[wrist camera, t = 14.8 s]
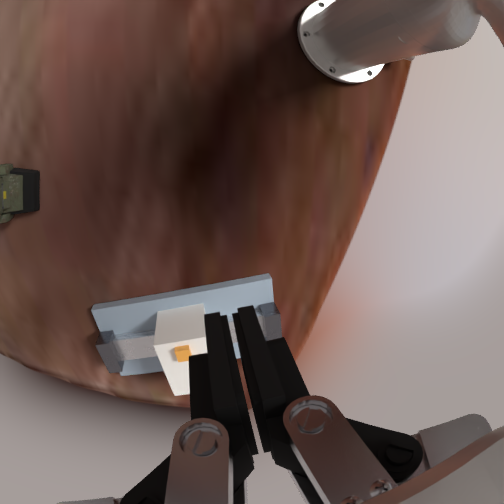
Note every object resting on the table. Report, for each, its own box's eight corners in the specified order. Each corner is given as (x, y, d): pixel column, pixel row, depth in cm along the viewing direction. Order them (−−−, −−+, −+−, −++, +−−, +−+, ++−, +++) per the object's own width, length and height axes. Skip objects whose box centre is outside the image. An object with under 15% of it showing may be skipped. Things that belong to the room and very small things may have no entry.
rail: (273, 301, 39) (280, 313, 36) (276, 331, 41) (282, 344, 38) (100, 331, 35) (95, 345, 33) (112, 359, 37) (109, 373, 35)
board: (268, 273, 39) (271, 278, 38) (275, 343, 44) (277, 349, 42) (93, 304, 35) (91, 310, 34) (122, 369, 40) (121, 375, 39)
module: (203, 303, 37) (208, 341, 30) (215, 353, 40) (222, 392, 33) (157, 311, 36) (153, 350, 29) (174, 360, 39) (174, 400, 32)
